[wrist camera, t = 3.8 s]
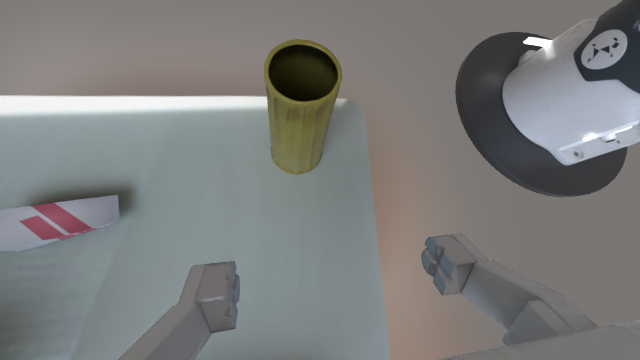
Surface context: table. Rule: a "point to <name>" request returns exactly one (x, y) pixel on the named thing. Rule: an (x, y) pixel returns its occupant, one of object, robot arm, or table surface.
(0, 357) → the table surface
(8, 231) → the sheathed knife
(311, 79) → the vase
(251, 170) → the table surface
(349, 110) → the table surface
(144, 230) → the table surface
